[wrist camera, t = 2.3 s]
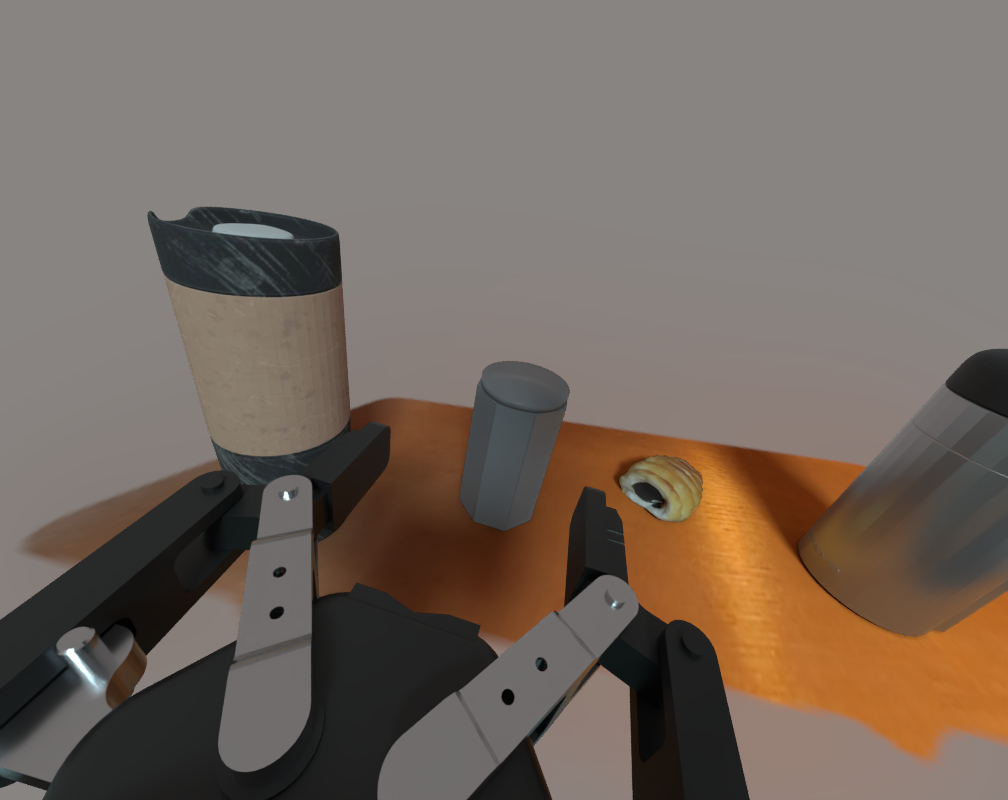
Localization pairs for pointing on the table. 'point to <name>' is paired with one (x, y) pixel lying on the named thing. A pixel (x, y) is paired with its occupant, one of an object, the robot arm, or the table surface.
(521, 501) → the canister
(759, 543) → the table surface
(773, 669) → the table surface
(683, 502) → the pastry
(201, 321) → the travel mug
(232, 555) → the robot arm
